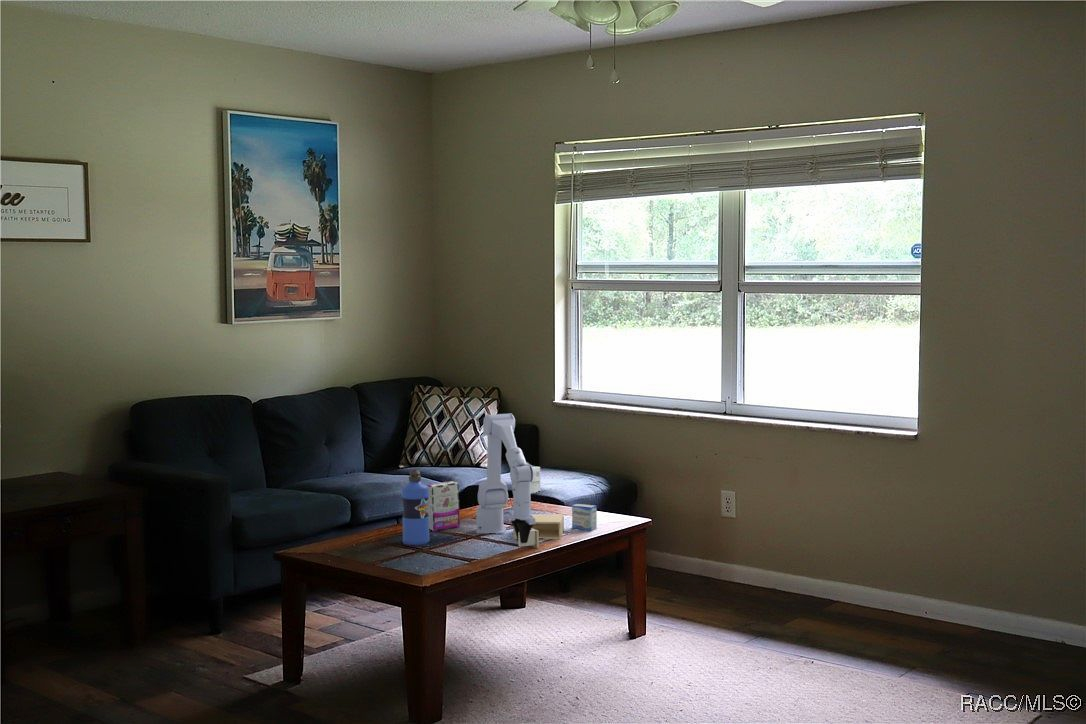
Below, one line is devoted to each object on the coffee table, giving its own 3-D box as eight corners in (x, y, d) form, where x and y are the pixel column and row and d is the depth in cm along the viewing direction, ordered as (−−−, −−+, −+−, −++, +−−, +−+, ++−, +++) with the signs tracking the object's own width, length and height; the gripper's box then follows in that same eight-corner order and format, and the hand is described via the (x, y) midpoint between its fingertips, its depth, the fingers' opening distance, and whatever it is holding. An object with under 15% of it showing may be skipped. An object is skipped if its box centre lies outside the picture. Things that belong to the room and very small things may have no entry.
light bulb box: (531, 489, 457) (530, 464, 456) (541, 492, 451) (540, 466, 451) (511, 493, 450) (511, 467, 449) (521, 495, 445) (521, 469, 444)
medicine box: (571, 529, 382) (571, 505, 381) (577, 526, 386) (576, 503, 385) (591, 531, 378) (591, 507, 377) (597, 528, 382) (596, 505, 381)
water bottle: (435, 540, 367) (434, 468, 365) (417, 546, 359) (416, 473, 357) (414, 537, 372) (413, 466, 370) (396, 543, 364) (395, 470, 363)
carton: (514, 538, 369) (514, 521, 368) (519, 530, 381) (518, 514, 380) (560, 539, 367) (560, 522, 366) (563, 531, 379) (563, 514, 378)
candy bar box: (452, 524, 391) (452, 480, 390) (460, 527, 387) (459, 482, 386) (426, 529, 385) (425, 484, 383) (433, 531, 381) (432, 486, 379)
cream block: (498, 540, 365) (497, 524, 364) (514, 538, 368) (514, 521, 368) (521, 550, 351) (521, 533, 351) (538, 547, 355) (538, 530, 354)
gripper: (501, 499, 357) (501, 539, 358) (521, 506, 344) (522, 548, 345) (519, 496, 360) (520, 536, 361) (540, 504, 347) (541, 545, 348)
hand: (522, 542), depth 353 cm, fingers closed
